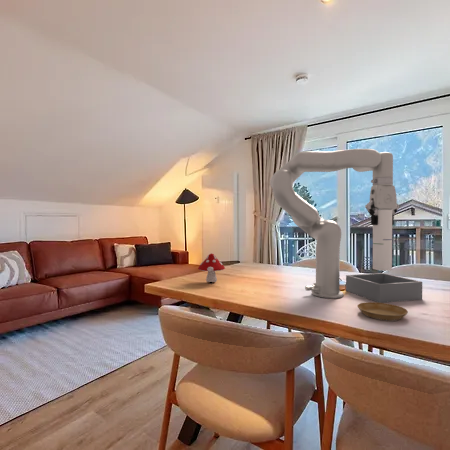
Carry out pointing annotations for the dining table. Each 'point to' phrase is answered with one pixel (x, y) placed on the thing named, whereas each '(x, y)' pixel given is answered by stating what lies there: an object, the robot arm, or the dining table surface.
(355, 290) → the walled bin
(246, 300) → the dining table surface
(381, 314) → the plant saucer
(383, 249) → the cylindrical container
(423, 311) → the dining table surface
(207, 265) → the decorative mushroom
